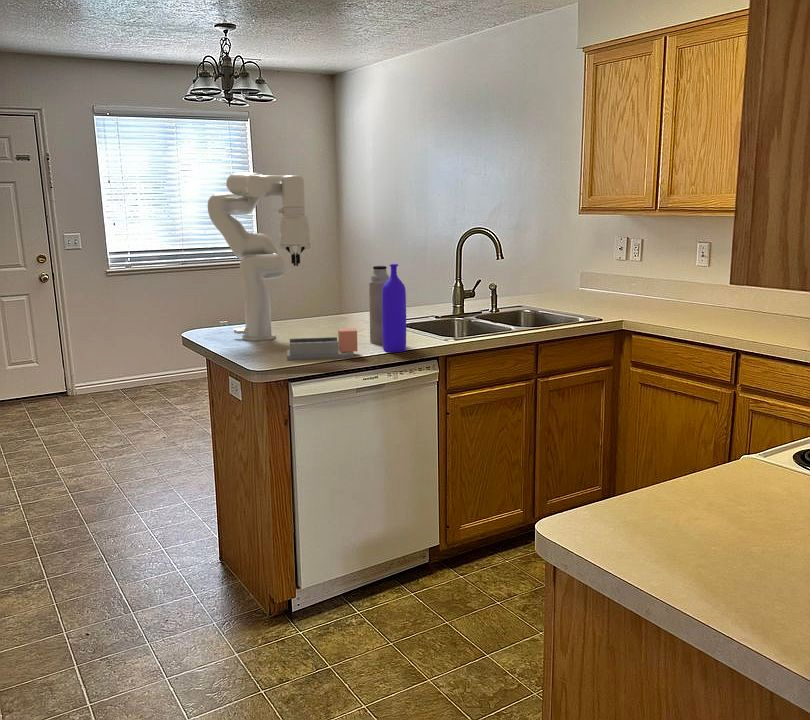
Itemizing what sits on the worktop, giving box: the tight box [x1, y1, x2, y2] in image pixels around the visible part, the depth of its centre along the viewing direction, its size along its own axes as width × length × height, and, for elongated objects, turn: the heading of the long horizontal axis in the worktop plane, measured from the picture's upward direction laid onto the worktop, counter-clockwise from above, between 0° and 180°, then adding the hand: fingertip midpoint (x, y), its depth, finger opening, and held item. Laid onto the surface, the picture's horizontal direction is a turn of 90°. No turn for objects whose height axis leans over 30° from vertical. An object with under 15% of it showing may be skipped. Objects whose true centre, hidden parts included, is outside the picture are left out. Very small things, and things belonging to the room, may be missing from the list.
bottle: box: [382, 263, 407, 353], centre depth 257 cm, size 8×8×30 cm
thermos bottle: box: [368, 265, 390, 345], centre depth 272 cm, size 8×8×28 cm
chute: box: [286, 336, 355, 361], centre depth 251 cm, size 22×10×6 cm, turn 98°
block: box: [337, 327, 358, 353], centre depth 252 cm, size 6×6×7 cm
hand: (295, 265), depth 261 cm, fingers closed
